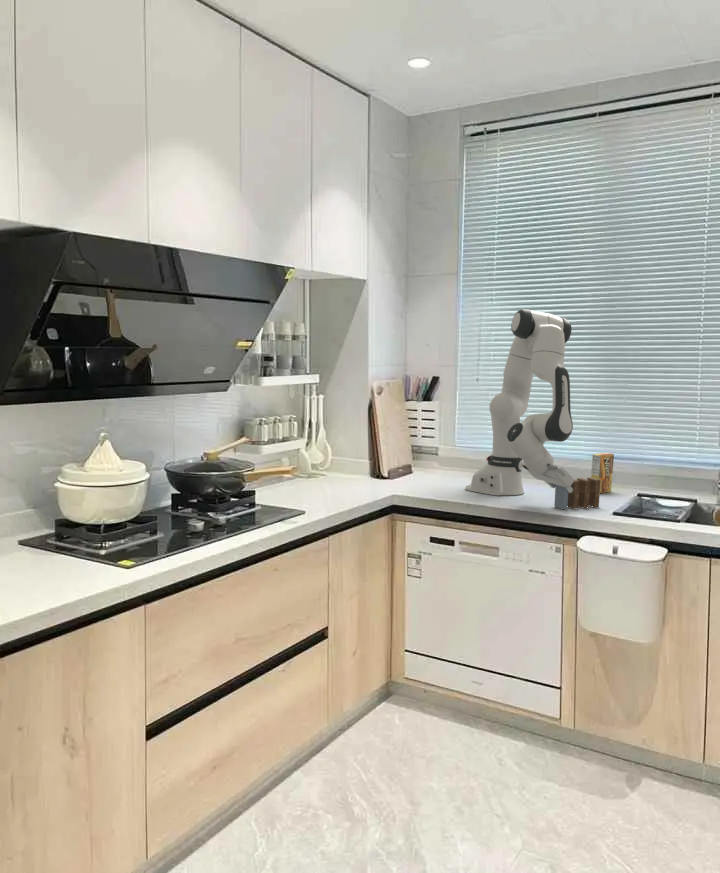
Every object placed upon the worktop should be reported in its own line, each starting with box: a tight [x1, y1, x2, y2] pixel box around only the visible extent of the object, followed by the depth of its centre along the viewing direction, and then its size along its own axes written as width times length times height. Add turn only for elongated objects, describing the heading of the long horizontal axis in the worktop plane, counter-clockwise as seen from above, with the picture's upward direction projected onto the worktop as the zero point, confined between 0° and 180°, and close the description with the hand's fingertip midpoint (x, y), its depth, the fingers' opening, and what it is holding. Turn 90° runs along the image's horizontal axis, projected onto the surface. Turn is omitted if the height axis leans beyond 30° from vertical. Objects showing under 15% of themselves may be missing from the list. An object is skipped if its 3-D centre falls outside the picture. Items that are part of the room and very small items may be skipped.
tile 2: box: [567, 479, 580, 509], centre depth 279 cm, size 2×5×10 cm, turn 22°
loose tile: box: [554, 485, 568, 510], centre depth 277 cm, size 2×5×10 cm, turn 22°
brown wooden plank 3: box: [576, 477, 590, 509], centre depth 281 cm, size 2×5×10 cm, turn 22°
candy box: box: [590, 452, 615, 494], centre depth 309 cm, size 9×4×15 cm, turn 129°
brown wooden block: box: [586, 476, 601, 508], centre depth 282 cm, size 2×5×10 cm, turn 22°
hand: (562, 488), depth 277 cm, fingers open, 8 cm apart
